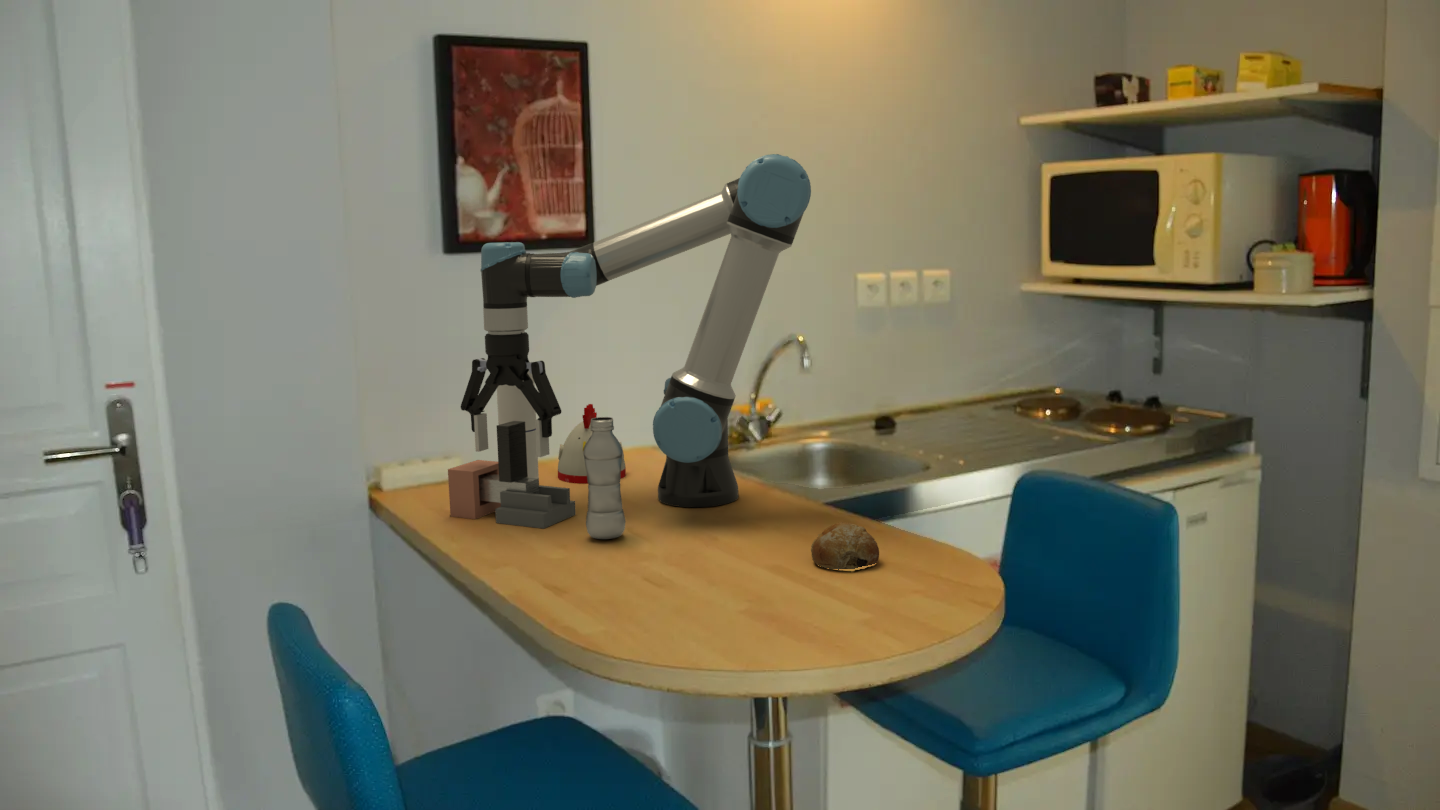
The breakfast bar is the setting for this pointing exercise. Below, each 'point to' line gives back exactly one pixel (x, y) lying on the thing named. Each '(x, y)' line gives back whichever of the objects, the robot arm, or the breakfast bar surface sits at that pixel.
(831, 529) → the bread roll
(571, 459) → the kitchen timer
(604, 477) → the plastic bottle
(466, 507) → the socket block
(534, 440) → the cylindrical container
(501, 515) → the grey stepped base
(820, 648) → the breakfast bar surface
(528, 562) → the breakfast bar surface
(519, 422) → the black and grey block
